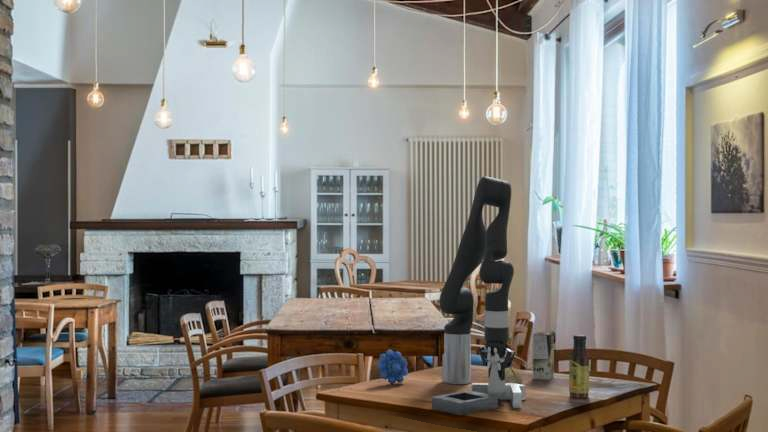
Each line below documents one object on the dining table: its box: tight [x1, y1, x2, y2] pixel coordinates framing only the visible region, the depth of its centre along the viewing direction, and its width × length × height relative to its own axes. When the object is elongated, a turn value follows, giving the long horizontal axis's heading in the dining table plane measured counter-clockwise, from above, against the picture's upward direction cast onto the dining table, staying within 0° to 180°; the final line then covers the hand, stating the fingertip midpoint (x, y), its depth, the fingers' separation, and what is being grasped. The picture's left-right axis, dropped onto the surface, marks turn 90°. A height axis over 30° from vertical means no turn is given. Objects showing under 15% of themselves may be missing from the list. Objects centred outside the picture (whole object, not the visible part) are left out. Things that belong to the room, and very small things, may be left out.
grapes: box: [376, 349, 409, 385], centre depth 287 cm, size 12×7×12 cm, turn 115°
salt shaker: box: [488, 356, 506, 400], centre depth 258 cm, size 6×6×13 cm
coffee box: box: [532, 331, 555, 381], centre depth 302 cm, size 9×6×16 cm
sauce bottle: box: [568, 333, 590, 399], centre depth 267 cm, size 7×6×20 cm
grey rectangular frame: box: [430, 389, 499, 416], centre depth 249 cm, size 12×16×4 cm
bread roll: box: [505, 366, 523, 385], centre depth 277 cm, size 10×15×8 cm, turn 17°
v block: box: [471, 382, 526, 409], centre depth 260 cm, size 12×20×4 cm, turn 40°
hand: (496, 380), depth 258 cm, fingers closed on salt shaker, 3 cm apart
